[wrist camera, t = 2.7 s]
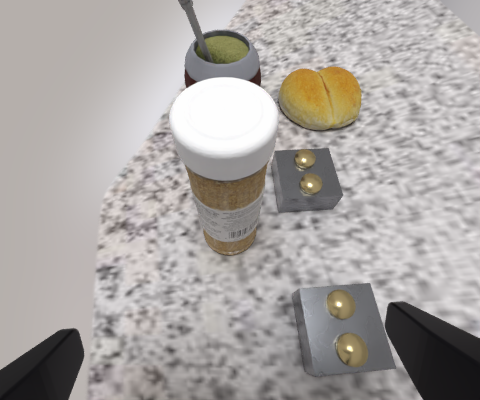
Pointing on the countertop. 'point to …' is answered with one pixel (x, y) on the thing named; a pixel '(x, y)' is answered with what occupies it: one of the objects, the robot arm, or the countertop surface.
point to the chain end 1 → (305, 180)
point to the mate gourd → (219, 54)
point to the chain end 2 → (341, 330)
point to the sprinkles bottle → (226, 155)
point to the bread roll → (321, 98)
